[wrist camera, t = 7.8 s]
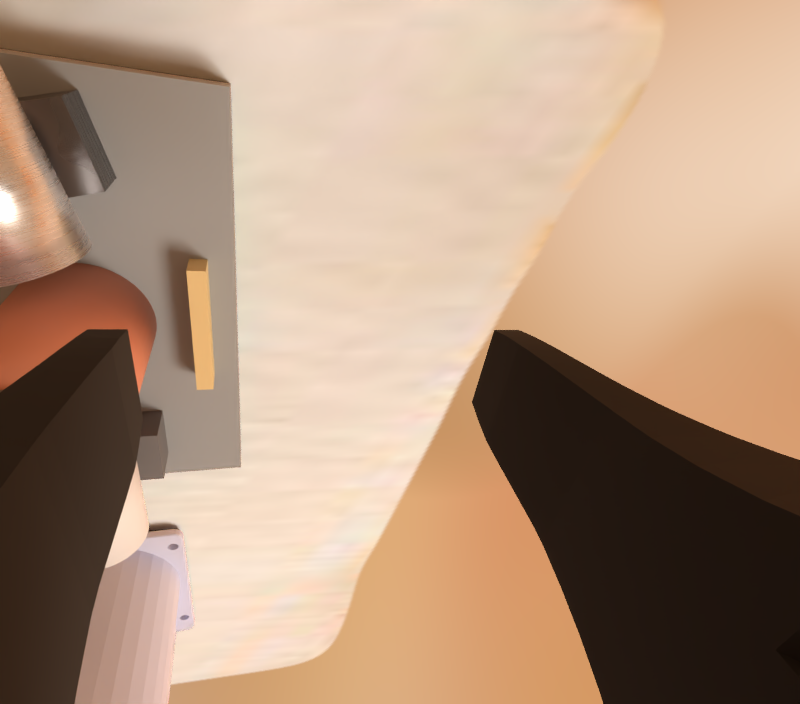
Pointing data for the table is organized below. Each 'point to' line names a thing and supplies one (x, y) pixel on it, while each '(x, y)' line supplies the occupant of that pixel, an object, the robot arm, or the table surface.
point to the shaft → (45, 181)
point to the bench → (162, 254)
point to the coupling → (71, 317)
